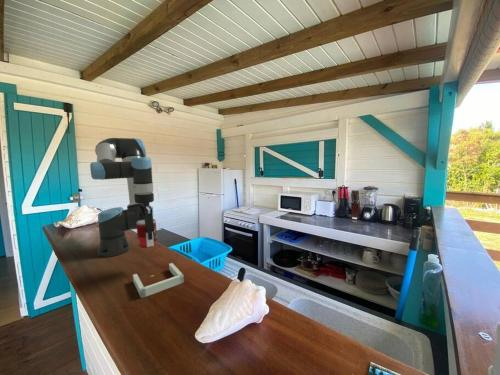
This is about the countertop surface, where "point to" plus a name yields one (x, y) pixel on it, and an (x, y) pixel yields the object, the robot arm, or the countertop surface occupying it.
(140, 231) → the canned food
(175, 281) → the bay
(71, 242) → the countertop surface
